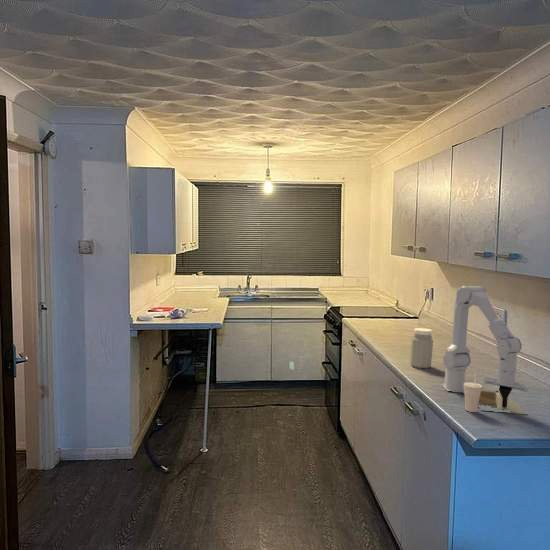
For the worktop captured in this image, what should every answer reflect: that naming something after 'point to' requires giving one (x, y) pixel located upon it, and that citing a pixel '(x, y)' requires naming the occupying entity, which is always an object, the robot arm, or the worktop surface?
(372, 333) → the worktop surface
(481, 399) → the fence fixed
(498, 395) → the fence panel
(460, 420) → the worktop surface
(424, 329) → the jar
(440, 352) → the worktop surface
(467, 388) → the smoothie
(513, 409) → the mat
